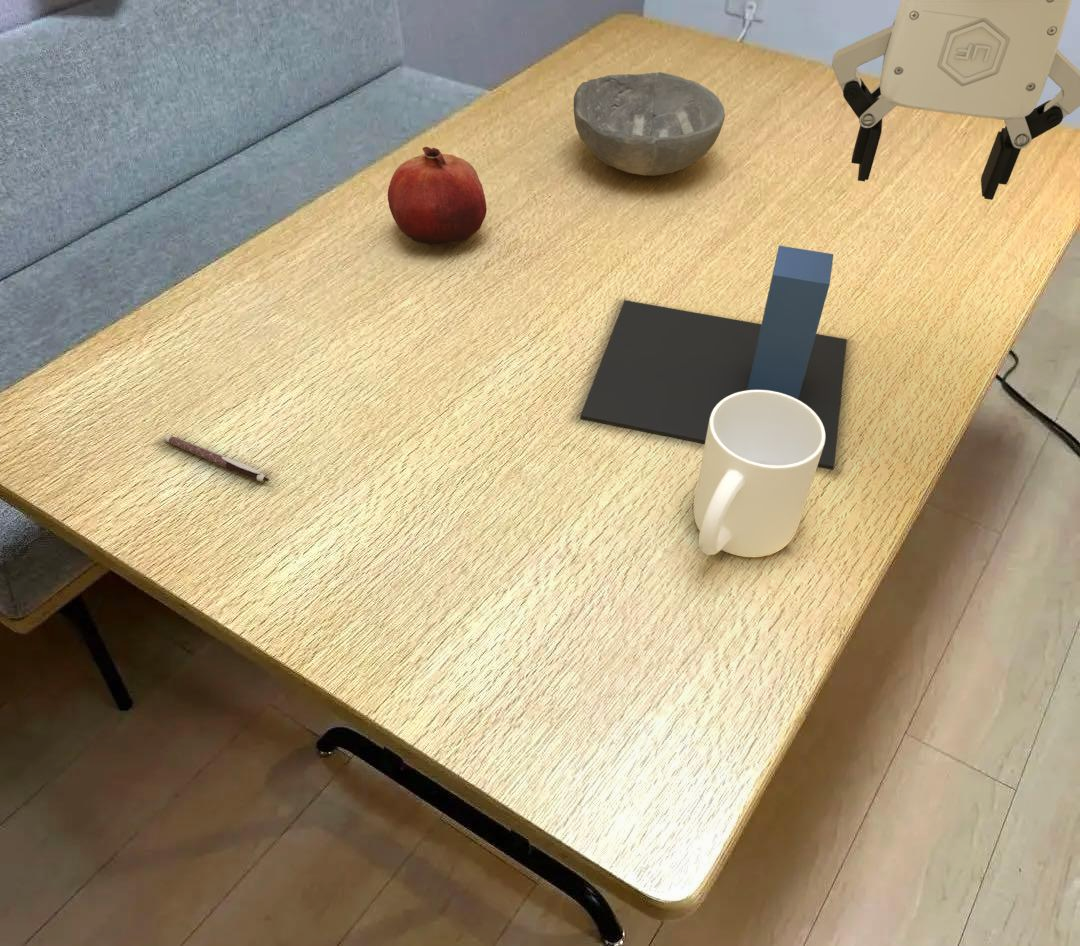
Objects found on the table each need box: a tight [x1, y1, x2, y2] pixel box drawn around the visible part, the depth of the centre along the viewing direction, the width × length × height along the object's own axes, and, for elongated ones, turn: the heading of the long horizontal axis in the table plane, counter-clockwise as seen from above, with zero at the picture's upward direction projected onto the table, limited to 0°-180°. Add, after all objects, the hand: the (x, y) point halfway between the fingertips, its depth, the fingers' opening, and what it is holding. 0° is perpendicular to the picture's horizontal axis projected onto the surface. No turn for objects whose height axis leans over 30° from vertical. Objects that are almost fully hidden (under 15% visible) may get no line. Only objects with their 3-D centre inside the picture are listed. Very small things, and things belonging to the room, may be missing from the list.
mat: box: [579, 299, 848, 470], centre depth 87 cm, size 22×18×1 cm
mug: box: [693, 390, 825, 558], centre depth 71 cm, size 12×8×10 cm
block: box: [747, 245, 834, 400], centre depth 82 cm, size 4×4×13 cm
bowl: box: [573, 71, 726, 176], centre depth 113 cm, size 18×18×8 cm
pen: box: [162, 435, 270, 482], centre depth 79 cm, size 11×1×1 cm, turn 63°
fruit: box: [387, 146, 488, 246], centre depth 100 cm, size 11×10×10 cm
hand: (924, 180), depth 70 cm, fingers open, 8 cm apart
